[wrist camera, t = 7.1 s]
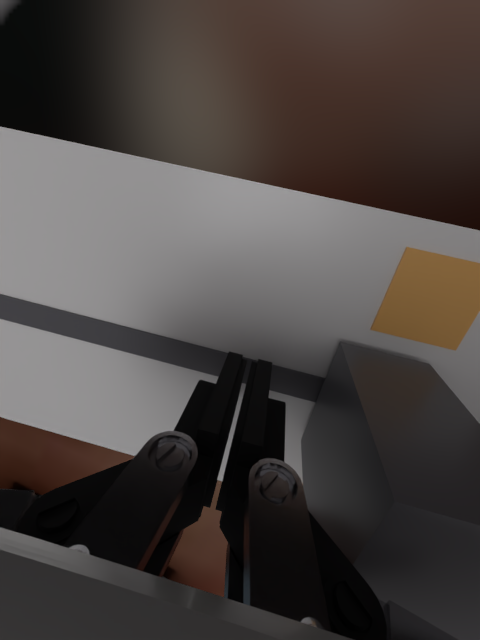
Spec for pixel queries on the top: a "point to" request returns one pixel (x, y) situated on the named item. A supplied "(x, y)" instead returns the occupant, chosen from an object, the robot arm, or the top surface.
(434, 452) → the fader knob
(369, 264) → the panel
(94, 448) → the top surface
